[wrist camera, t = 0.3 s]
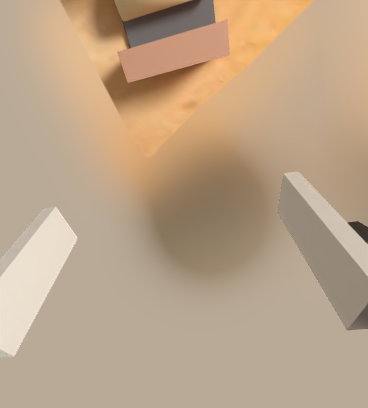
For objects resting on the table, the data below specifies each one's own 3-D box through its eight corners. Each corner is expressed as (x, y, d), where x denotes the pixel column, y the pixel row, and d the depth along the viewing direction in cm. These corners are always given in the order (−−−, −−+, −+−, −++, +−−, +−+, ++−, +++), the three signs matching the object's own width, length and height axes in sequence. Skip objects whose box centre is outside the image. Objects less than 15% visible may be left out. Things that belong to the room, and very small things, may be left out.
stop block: (132, 51, 30) (117, 52, 22) (215, 27, 28) (227, 19, 21) (139, 75, 31) (127, 82, 24) (217, 53, 30) (229, 54, 23)
